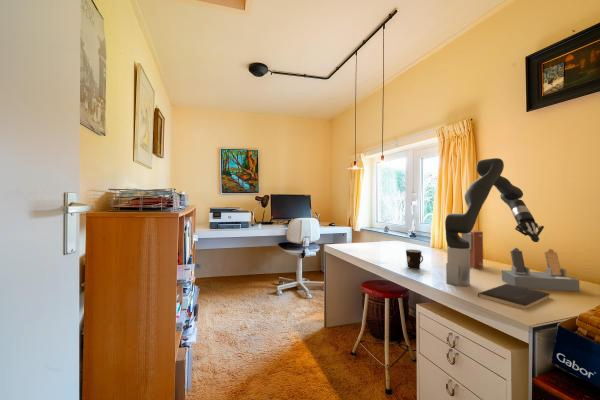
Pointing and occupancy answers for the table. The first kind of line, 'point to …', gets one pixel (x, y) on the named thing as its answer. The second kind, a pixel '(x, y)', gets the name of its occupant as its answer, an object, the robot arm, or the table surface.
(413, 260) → the coffee mug
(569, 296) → the table surface
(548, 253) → the copper lever
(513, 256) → the black lever
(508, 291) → the hardcover book
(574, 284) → the lever console
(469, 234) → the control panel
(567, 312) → the table surface
